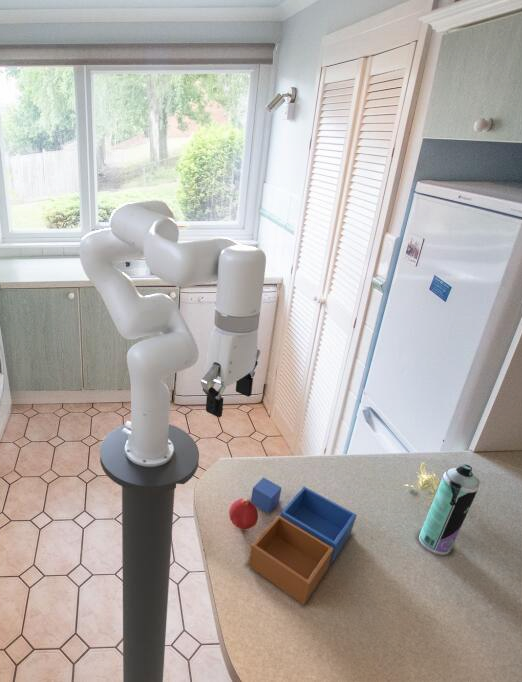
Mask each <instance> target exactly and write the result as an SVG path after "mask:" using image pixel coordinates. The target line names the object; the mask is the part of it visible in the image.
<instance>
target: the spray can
mask: <svg viewBox="0 0 522 682" xmlns="http://www.w3.org/2000/svg"><path fill="white" fill-rule="evenodd" d="M441 479H442V480H440V482H441V483H440V485H439V488H438V490H437V489H436V490H437V492H436V493H435V495H434V497H435V498H434V500H433V502H432V501H431V503H432V504H431V506H430V508H429V510H428V512H427V515H426V518H425V520H424V522H423V525H422V528H421V530H420V532H419V536H418V539H419V542H420V544H421V545H422V547H424V548H425V549H426V550H428V552H431V553H434V554H436V555H440V556H443V555H444V556H445V555H449V553H450V552H451V550H452V548H453V546H454V544H455V541H456V539H457V537H458V535H459V532H460V531H461V529H462V527H463V524H464V521H465V519H466V517H467V515H468V513H469V510H470V508H471V506H472V504H473V502H474V501H475V498H476V495H477V493H478V491H479V488H480V485H481V482H480V479H479V478H478V477H477V475H475V474H474V473H473V468H472V466H471V465H469V464H461V465H460V466H458V467H455V466H454V467H453V466H452V467H448V468H446V470H445V472H444V473H443V475H442V477H441Z"/></svg>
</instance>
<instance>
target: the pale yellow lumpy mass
mask: <svg viewBox="0 0 522 682" xmlns="http://www.w3.org/2000/svg"><path fill="white" fill-rule="evenodd" d="M438 460H439V459H438V458H437V459H435V460H434V461H435V462H434V465H433V470H432V471H431V472H430V471H427V470H429V465H428V463H426V462H425V461H422V462H420V463H419V464H420V466H419V469H420V472H421V473H420V472H419V471H418V470H417V472H416V471H415V474H418V475H417V476H416V477H417V478H418V479H417V483H416V484H415V486H413V485H412V484H411V485H409V484H405V483H404V484H403V486H405V487H413V488H412V489H413V490H415V489H416V490H415V491H414V492H413V494H415V493H416V492H417V490H420V491H427V492H426V494H428V493H431V497H430V498H429V501H430V504H431V505H432V502H433V500H434V498H435V495H436V493H437V490H438V488H439V485H440V483H441V480H442V478H439V476H437V474H435V468H436V464H437V461H438ZM425 466H426V467H425Z"/></svg>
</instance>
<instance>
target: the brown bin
mask: <svg viewBox="0 0 522 682" xmlns="http://www.w3.org/2000/svg"><path fill="white" fill-rule="evenodd" d="M333 549H334V548H332V547H330V546H329V545H327V544H326V543H324V542H322V541H321V540H319V539H317V538H316V537H314V536H312V535H311V534H309V533H307V532H306V531H304V530H302V529H301V528H299V527H297V526H296V525H294V524H292V523H291V522H289V521H287V520H286V519H284V518H282V517H281V516H280V515H279V514H278V515H277V516H276V517H275V518H274V519H273V521H271V523H270V524H269V525H268V526H267V527H266V528H265V529H264V531H263V532H262V533H261V534H260V535H259V536H258V538H257V539H256V540H255V541H254V542H253V543H252V545H251V547H250V552H249V553H250V555H249V558H248V559H249V560H248V565H247V566H248V567H250V568H251V569H253V570H254V571H255V572H257V573H258V574H260V575H261V576H262V577H264V578H265V579H266V580H268V581H269V582H271V583H272V584H273V585H274V586H276V587H278V588H279V589H281V590H282V591H283V592H284V593H286V594H287V595H289V596H290V597H291V598H293V599H295V600H296V601H297V602H299V603H300V604H302V606H304V605H305V604H306V603H307V601H308V600H309V598H310V597H311V595H312V593H313V592H314V591H315V589H316V587H317V586H318V584H319V583H320V582H321V580H322V578H323V577H324V575H325V574H326V573H327V571H328V570H329V567H330V565H329V563H330V560H331V556H332V553H333Z"/></svg>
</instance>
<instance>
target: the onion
mask: <svg viewBox="0 0 522 682" xmlns="http://www.w3.org/2000/svg"><path fill="white" fill-rule="evenodd" d="M228 515H229V520H230V522H231V523H232V524H233V525H232V526H235V527H236V528H238V529H239V530H250V529H252V528H253V527H254V526H256V525H257V522H258V520H259V513H258V507H257V506H255V505H254V504H253V503H252V502H251V499H248V498H238V499H237V500H235V501H234V502H232V503H231V504H230V507H229V510H228Z"/></svg>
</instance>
